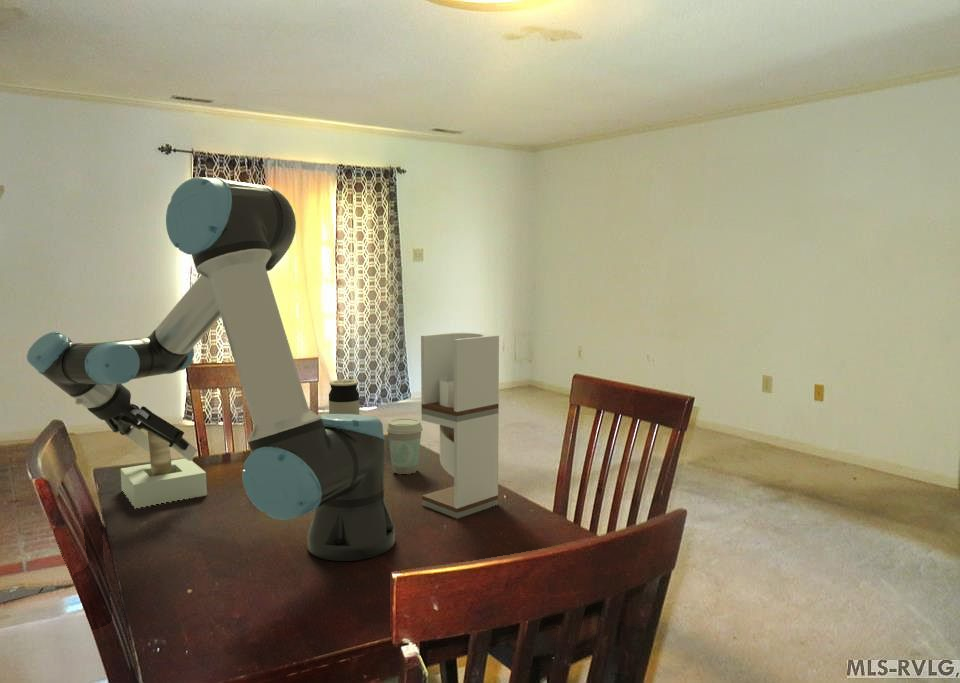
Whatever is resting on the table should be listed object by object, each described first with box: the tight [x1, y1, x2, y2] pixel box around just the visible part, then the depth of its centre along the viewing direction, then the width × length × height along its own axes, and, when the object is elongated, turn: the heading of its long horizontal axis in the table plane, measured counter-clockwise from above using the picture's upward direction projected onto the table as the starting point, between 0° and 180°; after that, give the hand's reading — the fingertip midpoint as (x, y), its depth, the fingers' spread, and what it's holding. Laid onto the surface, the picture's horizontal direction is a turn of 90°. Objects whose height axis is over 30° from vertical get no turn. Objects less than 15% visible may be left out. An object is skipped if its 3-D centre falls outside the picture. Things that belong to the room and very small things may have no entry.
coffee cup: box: [385, 418, 423, 475], centre depth 166 cm, size 8×8×12 cm
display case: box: [420, 331, 500, 519], centre depth 141 cm, size 11×11×35 cm
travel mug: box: [328, 379, 360, 415], centre depth 186 cm, size 8×8×18 cm
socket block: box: [120, 457, 208, 510], centre depth 150 cm, size 14×14×5 cm
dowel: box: [147, 431, 172, 477], centre depth 149 cm, size 4×4×14 cm
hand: (171, 451), depth 151 cm, fingers open, 13 cm apart
